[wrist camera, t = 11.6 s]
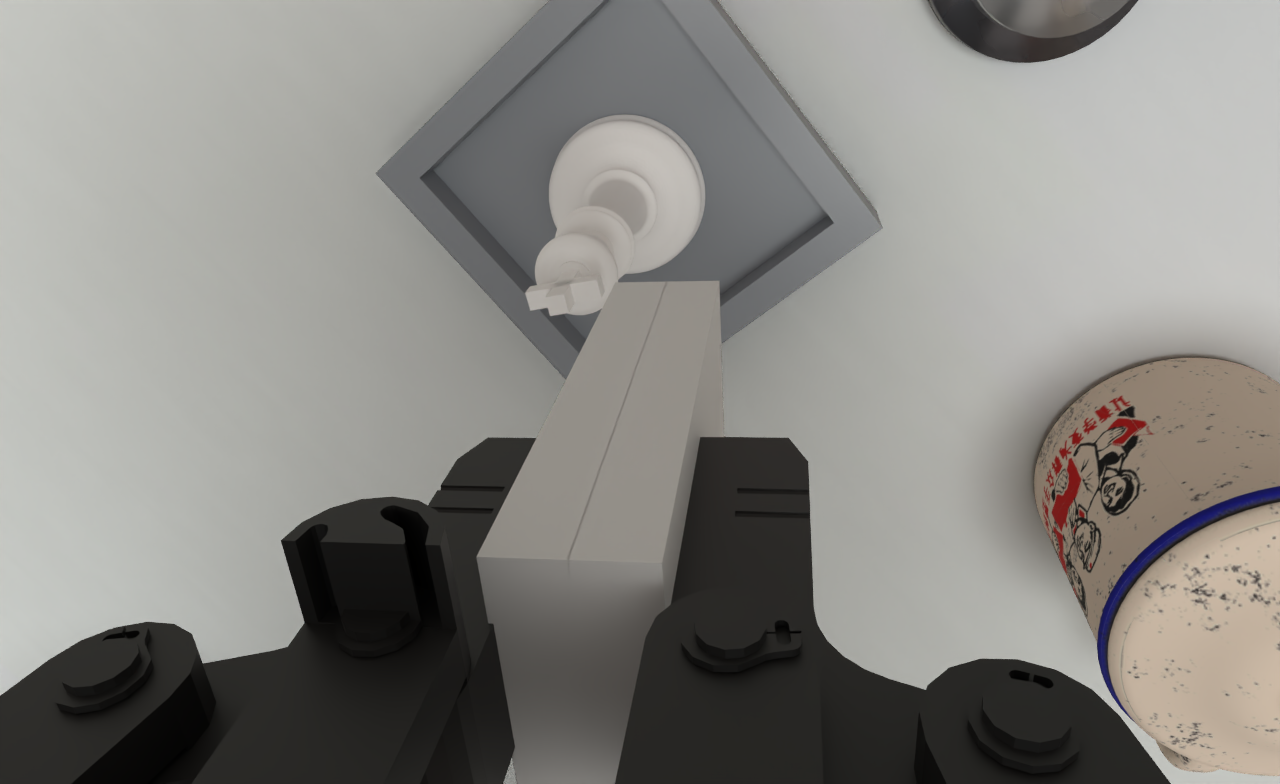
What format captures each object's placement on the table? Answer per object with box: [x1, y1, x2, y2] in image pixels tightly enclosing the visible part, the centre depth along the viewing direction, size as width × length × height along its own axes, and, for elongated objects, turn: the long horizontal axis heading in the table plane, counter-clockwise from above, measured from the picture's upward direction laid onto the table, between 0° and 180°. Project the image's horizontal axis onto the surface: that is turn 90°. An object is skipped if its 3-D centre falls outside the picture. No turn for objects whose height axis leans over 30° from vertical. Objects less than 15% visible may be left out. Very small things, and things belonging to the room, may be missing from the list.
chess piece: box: [525, 114, 705, 316], centre depth 24 cm, size 5×5×10 cm
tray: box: [376, 0, 882, 379], centre depth 28 cm, size 11×11×2 cm
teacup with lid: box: [1034, 358, 1280, 776], centre depth 26 cm, size 12×9×12 cm
